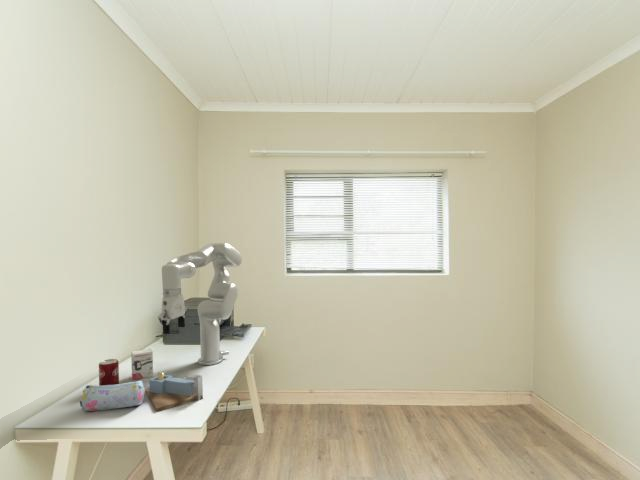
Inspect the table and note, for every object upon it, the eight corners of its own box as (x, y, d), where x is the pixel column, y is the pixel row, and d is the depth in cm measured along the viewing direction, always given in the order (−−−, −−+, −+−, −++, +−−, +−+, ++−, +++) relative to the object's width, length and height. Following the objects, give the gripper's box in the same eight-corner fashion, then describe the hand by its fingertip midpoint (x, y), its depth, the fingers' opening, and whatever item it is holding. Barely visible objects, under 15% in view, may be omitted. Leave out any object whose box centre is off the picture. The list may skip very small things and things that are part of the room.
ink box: (132, 380, 160) (132, 354, 160) (131, 376, 164) (131, 351, 164) (153, 375, 165) (152, 350, 165) (151, 372, 169) (151, 348, 169)
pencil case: (78, 415, 129) (78, 389, 129) (90, 404, 137) (89, 380, 137) (139, 410, 132) (139, 385, 132) (147, 399, 141) (146, 376, 140)
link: (149, 392, 144) (149, 380, 144) (161, 385, 150) (160, 374, 150) (187, 398, 138) (187, 385, 138) (198, 391, 144) (198, 379, 144)
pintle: (163, 391, 148) (163, 371, 148) (164, 393, 146) (164, 373, 146) (158, 392, 146) (157, 373, 146) (159, 394, 145) (158, 374, 145)
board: (187, 381, 158) (187, 378, 158) (202, 398, 140) (202, 395, 140) (145, 391, 148) (145, 388, 148) (156, 411, 130) (156, 408, 130)
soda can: (98, 394, 146) (97, 365, 146) (100, 388, 152) (99, 360, 152) (118, 390, 149) (118, 362, 149) (119, 384, 156) (118, 357, 156)
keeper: (187, 398, 140) (186, 376, 140) (191, 395, 143) (190, 374, 143) (198, 400, 139) (198, 378, 139) (202, 397, 141) (202, 375, 141)
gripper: (165, 296, 147) (167, 336, 148) (191, 288, 163) (193, 324, 164) (150, 296, 149) (153, 335, 150) (178, 288, 166) (180, 324, 167)
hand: (174, 330), depth 157 cm, fingers open, 9 cm apart
